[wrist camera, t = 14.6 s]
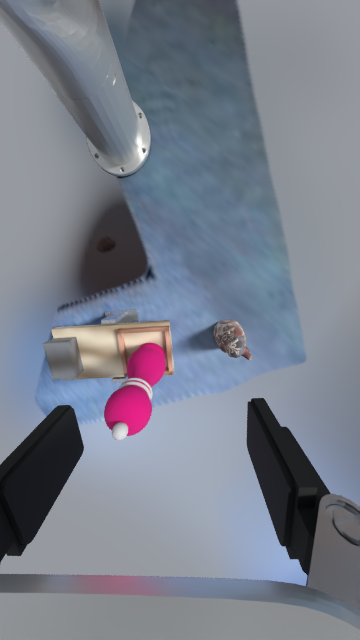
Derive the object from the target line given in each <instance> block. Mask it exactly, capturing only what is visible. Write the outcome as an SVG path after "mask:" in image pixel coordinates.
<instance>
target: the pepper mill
mask: <svg viewBox="0 0 360 640" xmlns="http://www.w3.org/2000/svg"><path fill="white" fill-rule="evenodd" d="M165 368H166V364H165V352H164V350H163V349H162V347H161V346H159V345H158V344H155V343H145V344H143V345H141V346H140V347H139V348H138V350H136V351H135V352H134V353H133V354H132V355H131V356H130V358H129V361H128V363H127V375H128V379H127V380H125V381H124V382H123V383H122V384H121V386H120V388H119V389H118V390H117V391H115V392H114V393H113V394H112V395H111V396H110V398H109V399H108V401H107V403H106V406H105V410H104V417H105V422H106V424H107V426H108V427H109V429H111V430H112V436H113V438H114V439H115V440H122V439H124V438H125V437H126V436H131V435H134V434H136V433H138V432H140V431H141V430H142V429H143V428H144V427H145V426H146V425H147V423H148V421H149V419H150V416H151V412H152V404H151V398H152V389H151V387H152V386H153V385H155V384H156V383H157V382H158V381H159V380H160V379H161V378H162V376H163V374H164V372H165Z"/></svg>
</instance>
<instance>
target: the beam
mask: <svg viewBox="0 0 360 640" xmlns="http://www.w3.org/2000/svg"><path fill="white" fill-rule="evenodd" d="M51 331H52V334H53V339H51V340H49V341H47V342H45V343H44V344H43V346H44V349H45V353H46V356H47V360H48V363H49V367H50V370H51V374H52V377H53V379H86V378H108V377H128V375H127V363H128V361H129V358H130V356H131V355H132V354H133V353H134V352H135V351H136V350H138V348H139V347H140V346H141V345H143V344H145V343H155V344H158V345H159V346H161V347H162V349H163V350H164V352H165V364H166V368H165V372H164V374H163V375H173V374H174V363H173V352H172V341H171V330H170V320H165V321H149V322H133V323H117V324H101V325H85V326H69V327H56V328H53V329H51Z"/></svg>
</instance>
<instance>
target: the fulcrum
mask: <svg viewBox="0 0 360 640" xmlns="http://www.w3.org/2000/svg"><path fill="white" fill-rule="evenodd" d="M105 316H106V318H104V319H102V320H101V324H117V323H133V322H139V315H138V309H134V310H119V311H106V312H105ZM127 379H128V377H113V379H112V381H113V382H124V381H125V380H127Z"/></svg>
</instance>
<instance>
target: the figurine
mask: <svg viewBox="0 0 360 640" xmlns="http://www.w3.org/2000/svg"><path fill="white" fill-rule="evenodd" d="M213 338H214V340H215V341H216V343H217V344H218V346H219V347H220V349H221V350H222V351H223V352H225V353H228V355H229V356H230V357H235V358H237V357H240V356H244V357H245V358H246V359H248V360H251V358H252V356H251V354H250V353H249V351H250V350H249V349H248V348H247V347H246V346H245V343H246V337H245V334H244V331H243V329H242V327H241V326H240V325H239V324H238V323H237V322H236V321H234V320H225V321H219V322H218V324H217V325H216V326H215V327H214V334H213Z"/></svg>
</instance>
